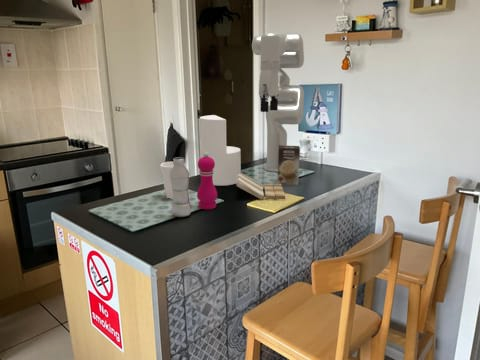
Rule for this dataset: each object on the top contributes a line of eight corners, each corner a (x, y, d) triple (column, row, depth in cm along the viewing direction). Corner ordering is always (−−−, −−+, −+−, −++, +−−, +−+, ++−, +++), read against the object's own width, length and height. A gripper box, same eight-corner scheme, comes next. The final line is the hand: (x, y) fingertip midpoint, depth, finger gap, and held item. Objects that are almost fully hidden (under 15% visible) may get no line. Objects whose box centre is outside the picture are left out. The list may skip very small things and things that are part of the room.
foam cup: (190, 197, 155) (189, 165, 152) (167, 201, 151) (165, 168, 147) (180, 191, 163) (179, 160, 159) (159, 195, 158) (156, 163, 155)
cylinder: (207, 187, 168) (205, 120, 161) (197, 177, 184) (195, 115, 176) (246, 183, 174) (246, 118, 166) (233, 173, 189) (233, 114, 182)
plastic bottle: (183, 220, 132) (180, 161, 127) (167, 216, 136) (164, 159, 130) (195, 214, 137) (193, 157, 132) (180, 211, 141) (177, 155, 135)
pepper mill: (202, 211, 140) (200, 155, 135) (194, 205, 147) (192, 151, 141) (220, 208, 144) (219, 153, 138) (212, 202, 150) (211, 149, 144)
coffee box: (277, 185, 171) (277, 148, 166) (277, 181, 177) (277, 145, 173) (298, 185, 170) (300, 148, 166) (298, 181, 176) (299, 145, 172)
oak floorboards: (263, 188, 167) (264, 184, 166) (281, 188, 167) (281, 184, 166) (265, 200, 152) (265, 196, 151) (284, 200, 151) (285, 196, 151)
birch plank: (237, 174, 165) (239, 171, 165) (260, 187, 167) (262, 184, 166) (236, 185, 150) (238, 182, 150) (261, 199, 151) (263, 196, 151)
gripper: (269, 67, 167) (268, 109, 171) (252, 66, 152) (251, 112, 156) (286, 67, 164) (285, 110, 168) (270, 66, 149) (269, 112, 153)
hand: (269, 111), depth 162 cm, fingers open, 9 cm apart
